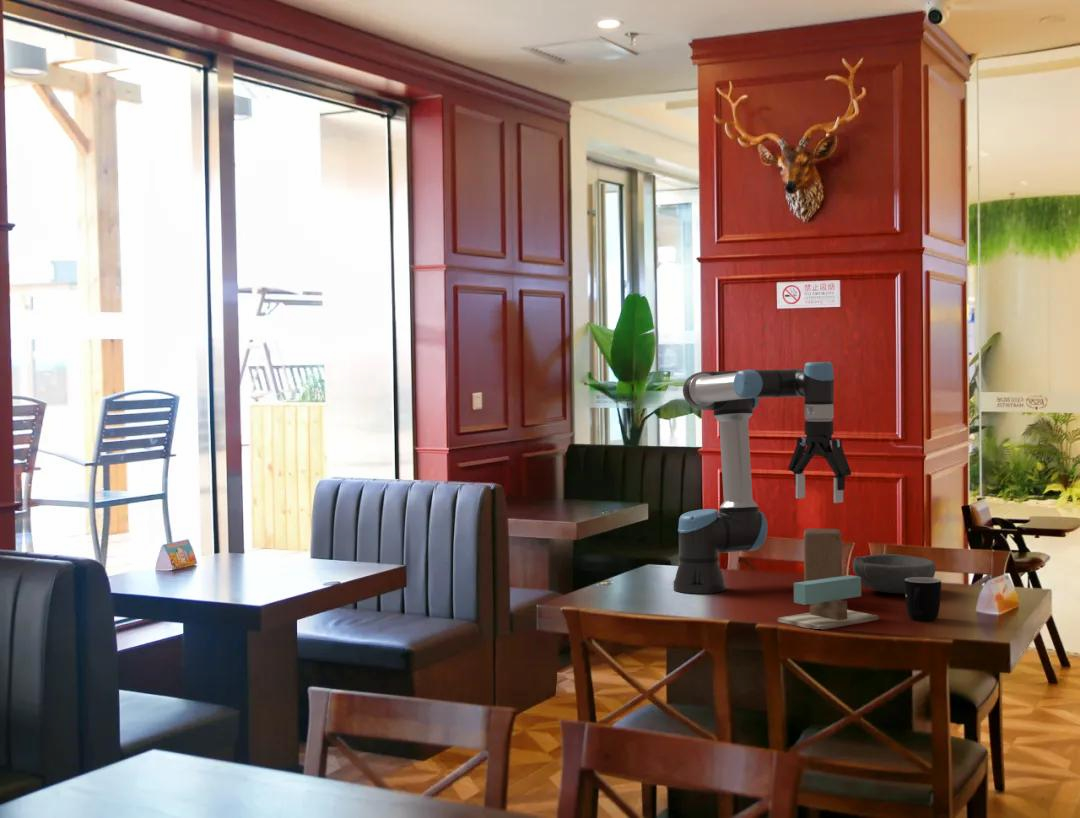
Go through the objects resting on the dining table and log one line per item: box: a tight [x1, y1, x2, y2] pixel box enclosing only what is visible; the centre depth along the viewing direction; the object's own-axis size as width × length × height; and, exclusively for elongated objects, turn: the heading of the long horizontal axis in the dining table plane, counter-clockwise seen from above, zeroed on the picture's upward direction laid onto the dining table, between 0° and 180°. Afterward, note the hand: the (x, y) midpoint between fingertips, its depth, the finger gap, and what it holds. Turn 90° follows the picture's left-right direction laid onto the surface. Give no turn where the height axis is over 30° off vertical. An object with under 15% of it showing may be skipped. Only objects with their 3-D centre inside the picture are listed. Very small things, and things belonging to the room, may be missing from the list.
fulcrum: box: [777, 599, 880, 630], centre depth 322 cm, size 14×22×6 cm, turn 124°
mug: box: [904, 577, 942, 622], centre depth 321 cm, size 12×9×10 cm
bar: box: [793, 574, 862, 606], centre depth 322 cm, size 4×20×5 cm, turn 123°
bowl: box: [851, 553, 937, 595], centre depth 361 cm, size 23×22×10 cm
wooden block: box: [803, 528, 843, 606], centre depth 348 cm, size 10×10×20 cm
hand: (819, 500), depth 334 cm, fingers open, 13 cm apart
